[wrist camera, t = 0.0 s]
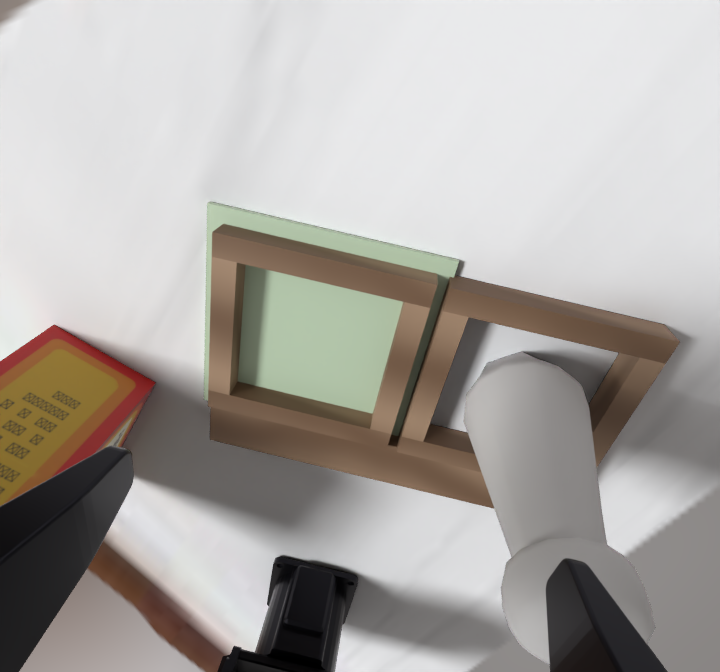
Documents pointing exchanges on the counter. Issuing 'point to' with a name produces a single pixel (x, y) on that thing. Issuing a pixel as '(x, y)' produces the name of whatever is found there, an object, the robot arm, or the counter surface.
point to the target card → (320, 318)
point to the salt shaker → (544, 491)
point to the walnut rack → (403, 366)
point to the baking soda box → (61, 408)
